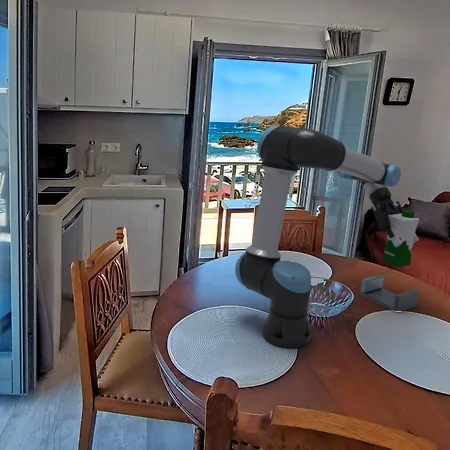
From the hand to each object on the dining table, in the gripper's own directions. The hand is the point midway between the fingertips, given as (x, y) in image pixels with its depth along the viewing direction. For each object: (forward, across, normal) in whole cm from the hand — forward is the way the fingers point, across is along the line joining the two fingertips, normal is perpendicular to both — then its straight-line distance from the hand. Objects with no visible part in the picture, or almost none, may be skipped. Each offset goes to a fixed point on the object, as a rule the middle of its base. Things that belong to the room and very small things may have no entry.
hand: (407, 243), depth 158 cm
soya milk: (+4, 0, -9) cm, 10 cm away
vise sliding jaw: (+8, 0, -24) cm, 25 cm away
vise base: (+14, 0, -20) cm, 25 cm away
